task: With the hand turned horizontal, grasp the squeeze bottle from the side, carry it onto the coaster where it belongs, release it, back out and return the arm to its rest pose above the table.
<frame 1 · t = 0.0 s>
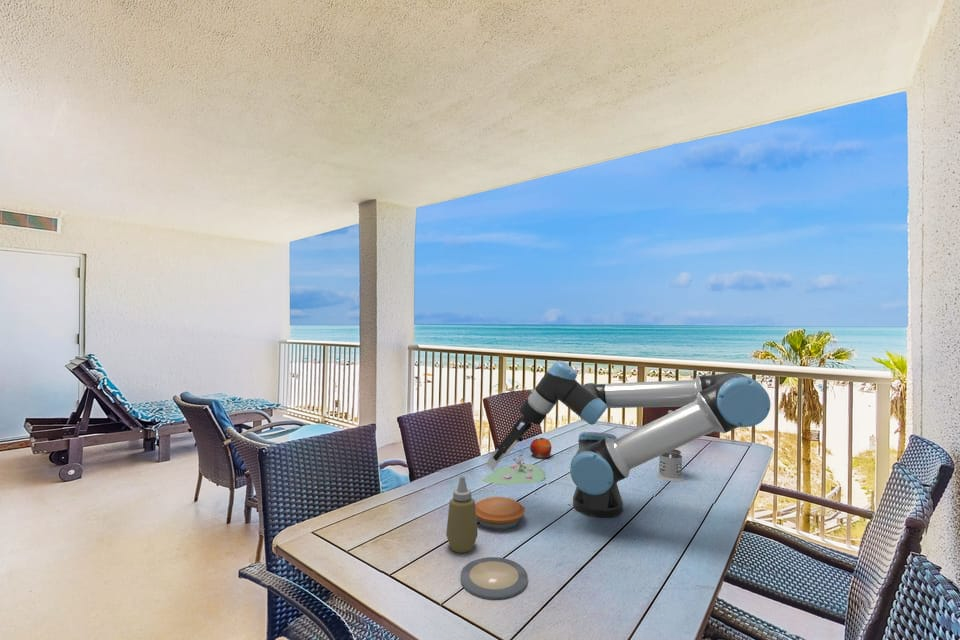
hand: (496, 460, 135), 15 cm above the table, tool tilted 35°, fingers open, 13 cm apart
plant: (514, 477, 166), on the table
squeeze bottle: (461, 548, 112), on the table
french press: (670, 476, 166), on the table
coaster: (493, 578, 99), on the table
pie: (498, 521, 128), on the table
tomato: (540, 457, 189), on the table
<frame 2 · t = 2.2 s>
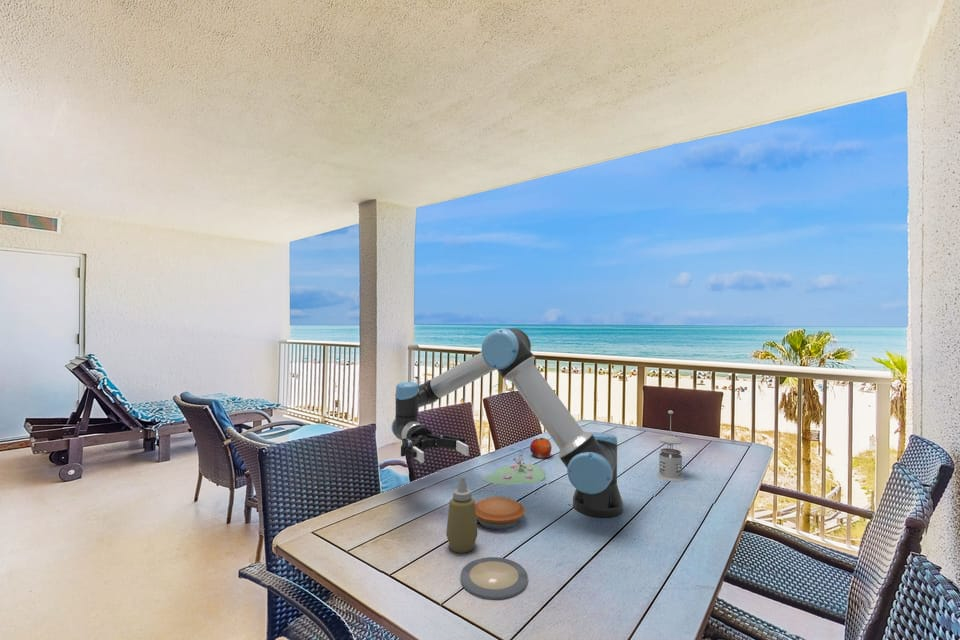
hand: (445, 454, 121), 21 cm above the table, tool horizontal, fingers open, 13 cm apart
nothing on the table moved.
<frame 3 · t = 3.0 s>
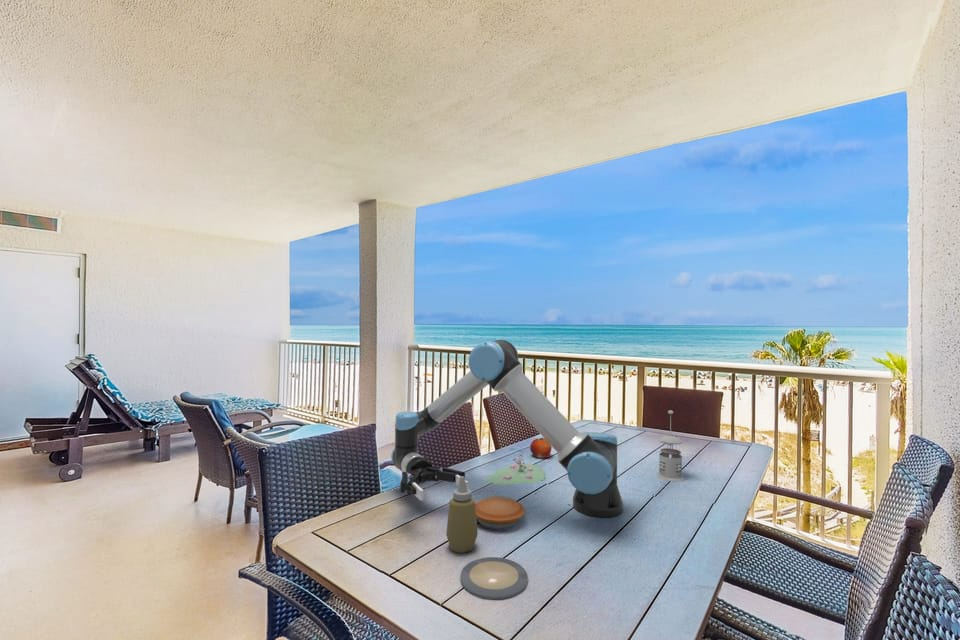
hand: (445, 491, 121), 11 cm above the table, tool horizontal, fingers open, 13 cm apart
nothing on the table moved.
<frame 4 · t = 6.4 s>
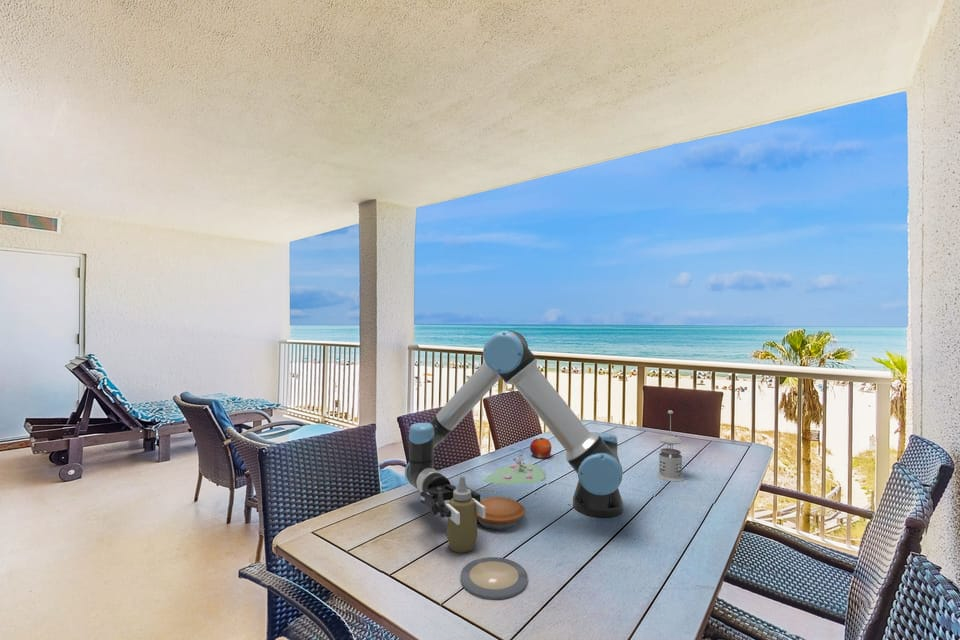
hand: (471, 515, 108), 10 cm above the table, tool horizontal, fingers closed on squeeze bottle, 6 cm apart
squeeze bottle: (461, 548, 112), on the table, touching gripper
everything else where it was.
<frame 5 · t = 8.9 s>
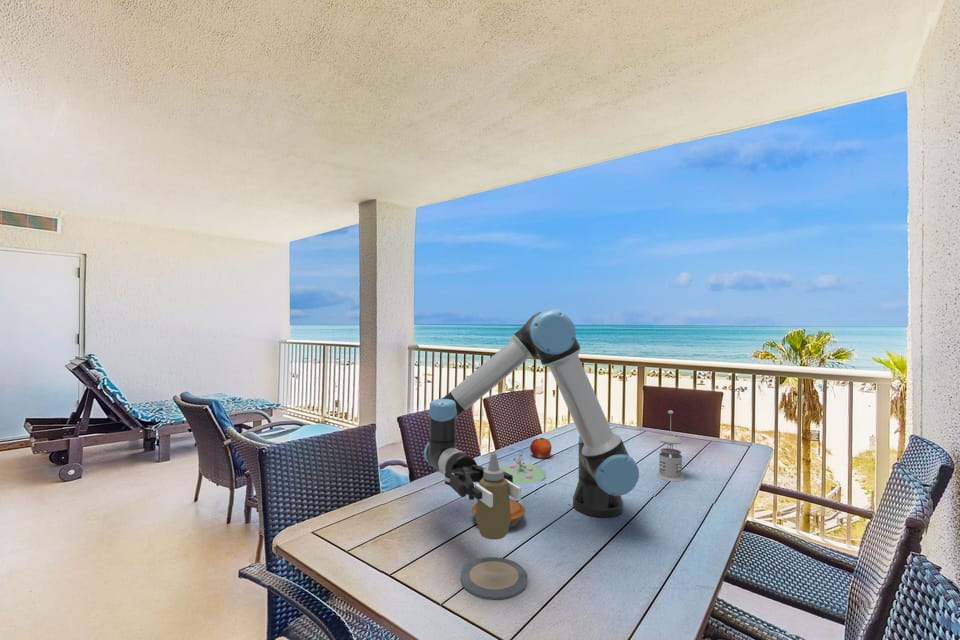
hand: (505, 497, 95), 20 cm above the table, tool horizontal, fingers closed on squeeze bottle, 6 cm apart
squeeze bottle: (493, 535, 99), point 10 cm above the table, touching gripper
everything else where it was.
when the fingers open (11 cm above the table, at t = 11.2 s): squeeze bottle stays where it is, resting on coaster.
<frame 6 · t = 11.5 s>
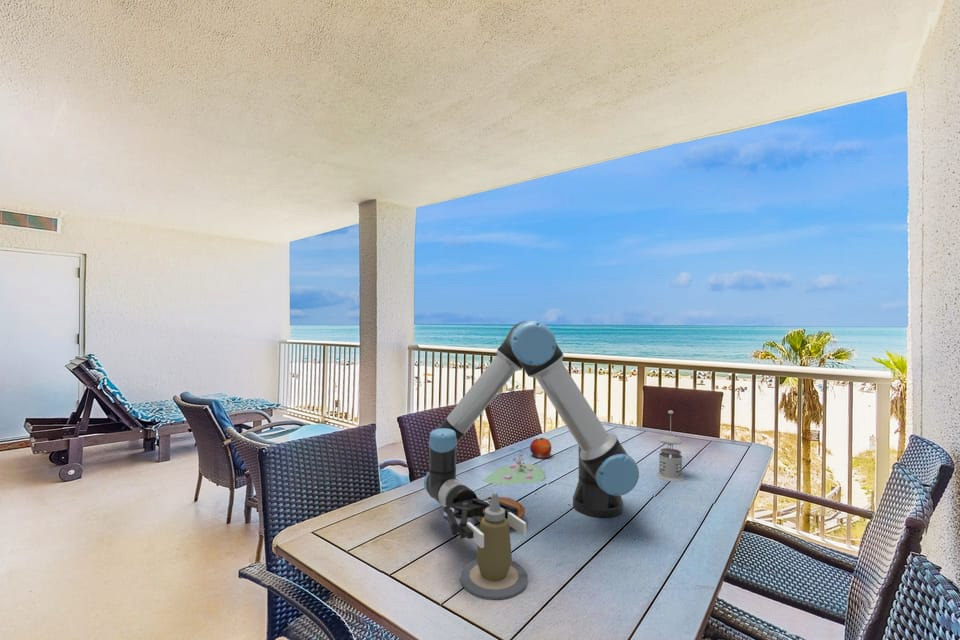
hand: (504, 535, 95), 11 cm above the table, tool horizontal, fingers open, 10 cm apart
squeeze bottle: (493, 575, 99), point 1 cm above the table, touching coaster
everything else where it was.
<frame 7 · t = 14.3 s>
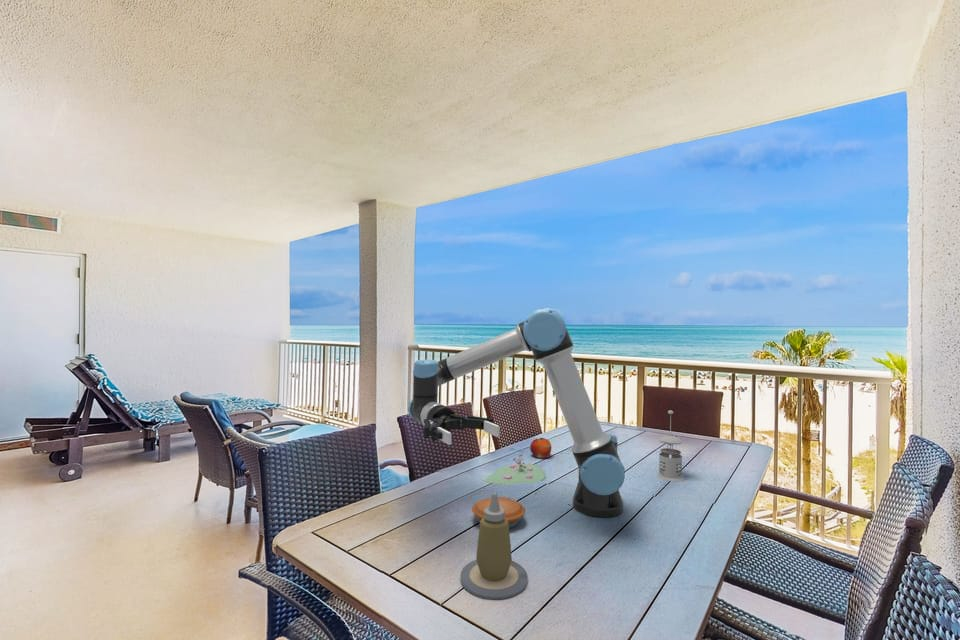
hand: (474, 435, 108), 30 cm above the table, tool horizontal, fingers open, 13 cm apart
nothing on the table moved.
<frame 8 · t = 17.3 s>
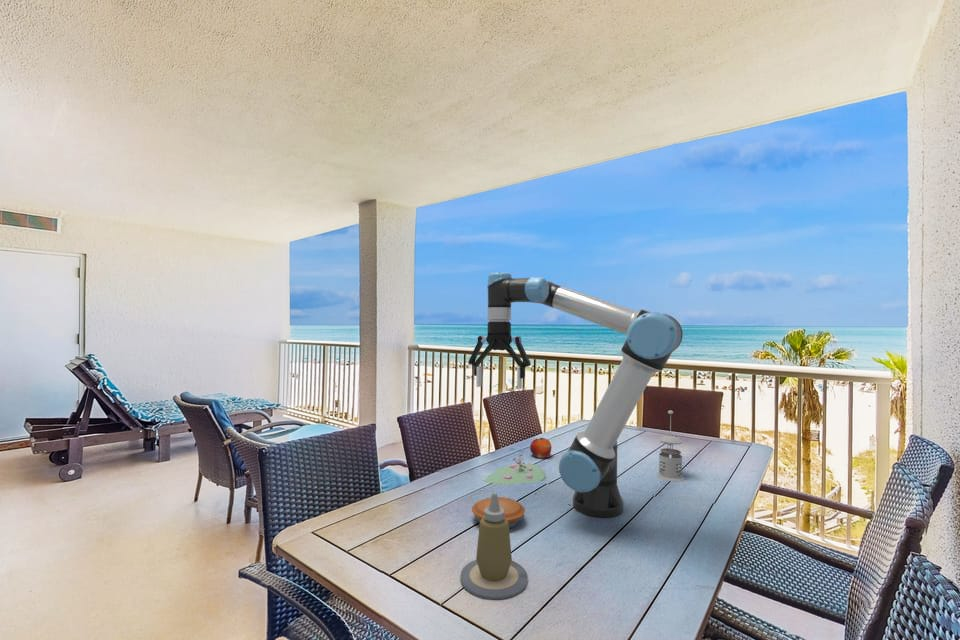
hand: (498, 387, 141), 37 cm above the table, tool pointing down, fingers open, 13 cm apart
nothing on the table moved.
at the end: squeeze bottle 0.0 cm from the coaster (horizontally); squeeze bottle tilted 0°; the gripper is holding nothing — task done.
